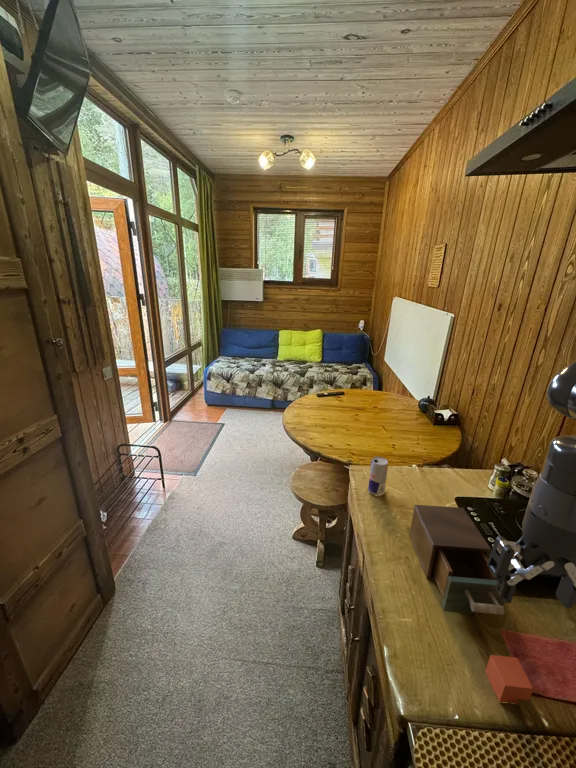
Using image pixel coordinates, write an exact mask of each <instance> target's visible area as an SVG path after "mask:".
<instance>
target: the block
mask: <svg viewBox="0 0 576 768" xmlns="http://www.w3.org/2000/svg"><path fill="white" fill-rule="evenodd" d="M484 672H485V674H486V677H487V678H488V681H489V683H490V686H491V688H492V689H493V693H494V695H495V694H496V695H495V697H496V696H497V697H496V699H497V698H498V699H497V701H498V700H499V701H500V702H508V703H515V704H519V700H521V701H522V700H523V701H530V699H531V696H532V694H533V692H534V687H533V685H532V683H531V682H530V680H529V678H528V676H527V674H526V672H525V670H524V669H523V667H522V664H521V663H520V661H519V659H518V658H517V657H515V656H513V657H512V656H503V655H495V654H494V655H492V654H490V655H489V659H488V661H487V665H486V668H485V671H484ZM499 701H498V702H499ZM519 705H520V704H519Z"/></svg>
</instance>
